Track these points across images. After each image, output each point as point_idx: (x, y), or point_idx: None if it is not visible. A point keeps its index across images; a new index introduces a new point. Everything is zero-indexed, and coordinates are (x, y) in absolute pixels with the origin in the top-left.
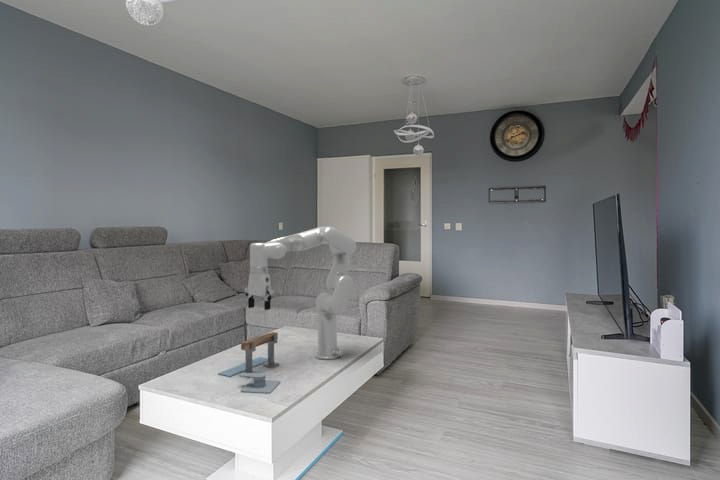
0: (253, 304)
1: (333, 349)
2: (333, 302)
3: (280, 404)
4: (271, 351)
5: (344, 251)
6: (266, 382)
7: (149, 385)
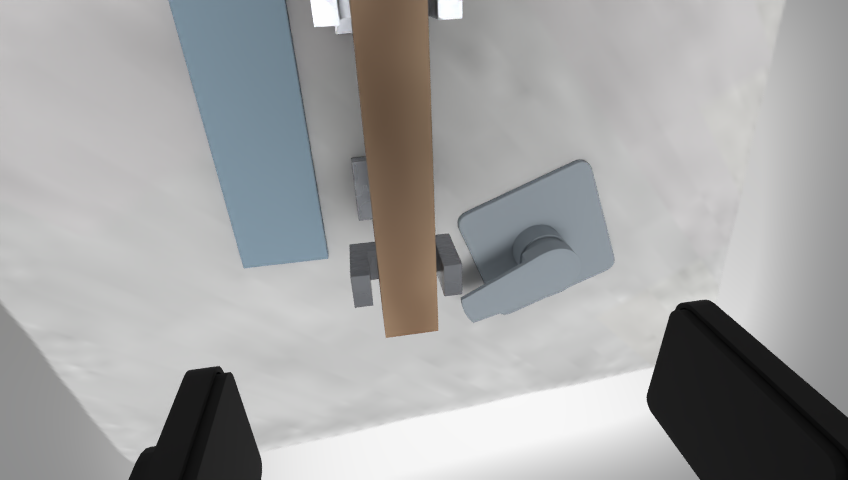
0: (225, 438)
1: None
2: None
3: (692, 295)
4: None
5: None
6: (540, 209)
7: None
